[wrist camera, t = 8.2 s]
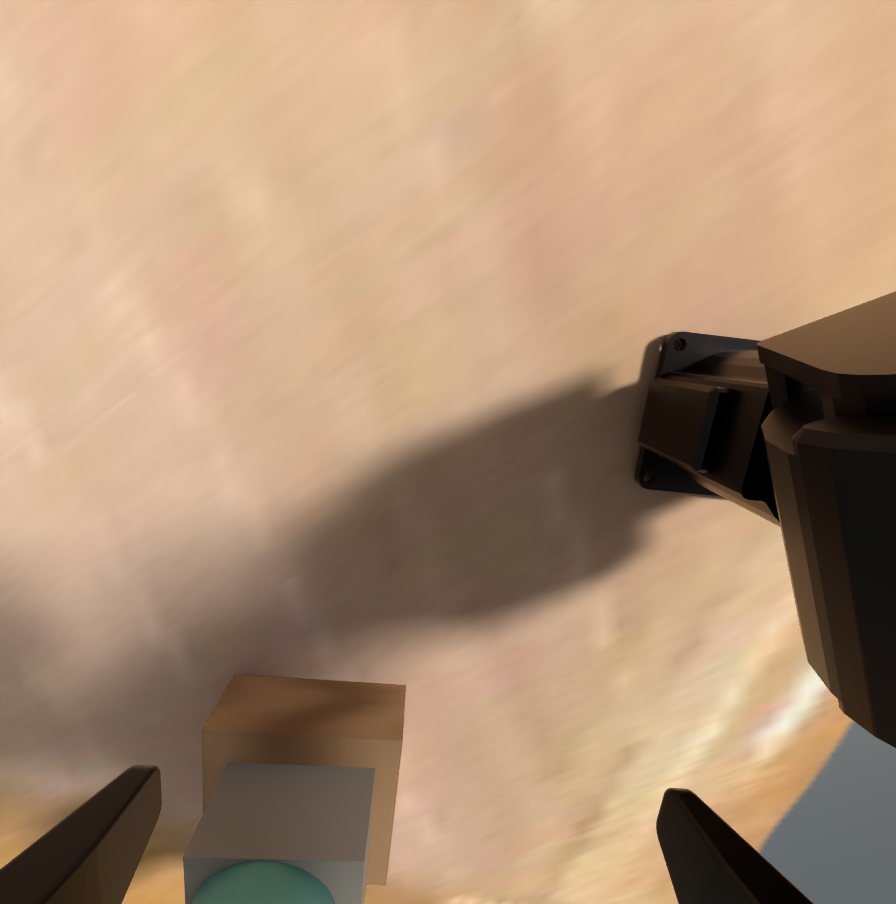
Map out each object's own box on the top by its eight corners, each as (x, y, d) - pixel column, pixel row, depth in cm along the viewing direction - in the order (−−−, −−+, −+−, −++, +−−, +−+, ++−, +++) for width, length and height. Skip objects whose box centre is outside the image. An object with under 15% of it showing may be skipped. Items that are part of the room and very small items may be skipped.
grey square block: (375, 767, 19) (364, 861, 15) (367, 875, 20) (354, 983, 17) (228, 762, 18) (183, 857, 15) (229, 872, 20) (189, 982, 16)
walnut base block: (406, 679, 22) (402, 741, 19) (391, 807, 24) (386, 885, 20) (238, 668, 21) (202, 729, 18) (236, 800, 23) (204, 879, 20)
